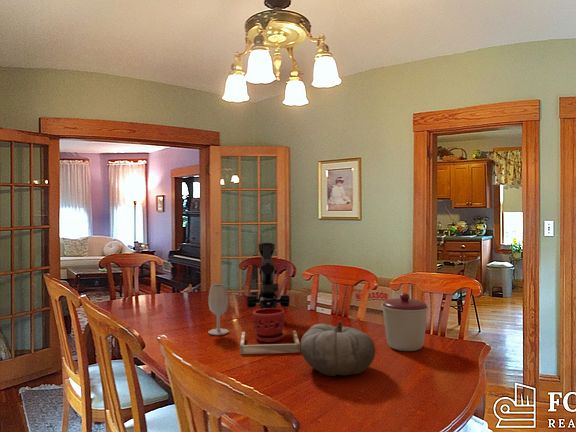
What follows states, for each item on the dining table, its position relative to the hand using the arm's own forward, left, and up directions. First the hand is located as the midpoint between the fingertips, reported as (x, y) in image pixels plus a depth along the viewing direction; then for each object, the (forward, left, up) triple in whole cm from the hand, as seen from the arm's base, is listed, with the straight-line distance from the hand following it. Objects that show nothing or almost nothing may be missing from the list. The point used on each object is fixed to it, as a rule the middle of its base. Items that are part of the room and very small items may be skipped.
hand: (268, 317), depth 190 cm
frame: (+11, +9, -7) cm, 16 cm away
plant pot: (+5, +4, -7) cm, 10 cm away
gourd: (+19, +44, -8) cm, 49 cm away
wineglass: (+10, -20, -7) cm, 24 cm away
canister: (-17, +54, -7) cm, 57 cm away
